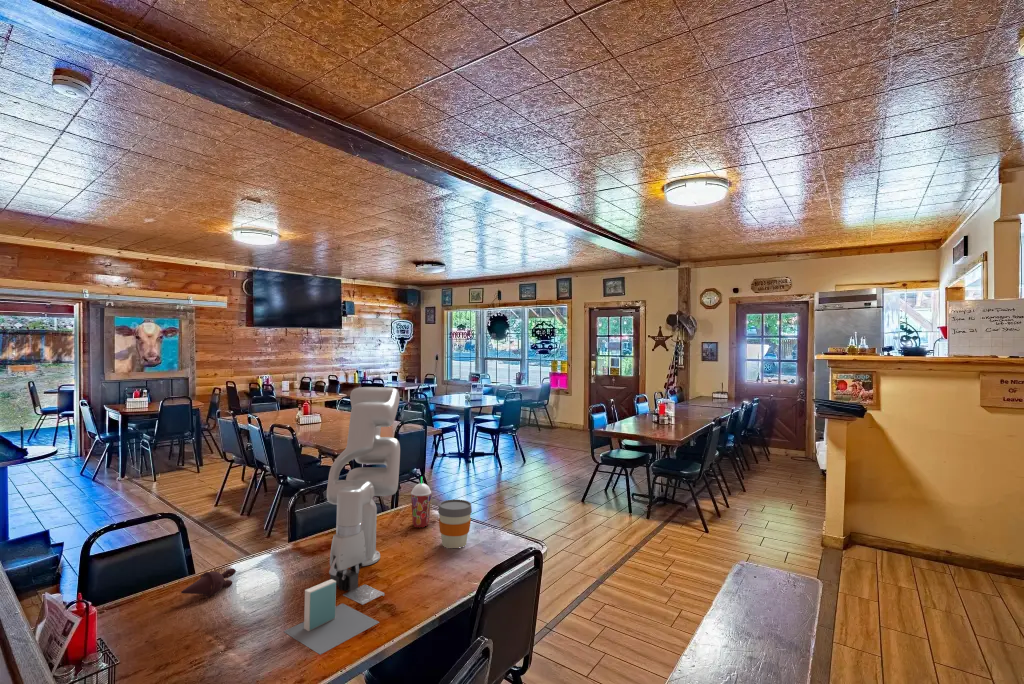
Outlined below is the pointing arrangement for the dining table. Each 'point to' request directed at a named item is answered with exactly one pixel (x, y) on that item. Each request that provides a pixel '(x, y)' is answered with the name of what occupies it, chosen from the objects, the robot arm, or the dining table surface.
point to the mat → (333, 629)
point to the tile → (319, 604)
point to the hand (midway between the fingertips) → (347, 588)
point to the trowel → (357, 588)
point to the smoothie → (421, 504)
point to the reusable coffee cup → (454, 522)
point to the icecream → (210, 583)
